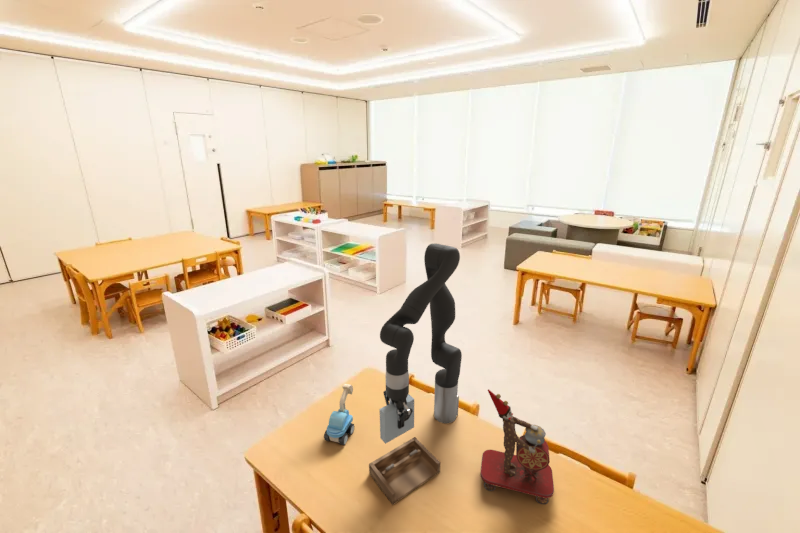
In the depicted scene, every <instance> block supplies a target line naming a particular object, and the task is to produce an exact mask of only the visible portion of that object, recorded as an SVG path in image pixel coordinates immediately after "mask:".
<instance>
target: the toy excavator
mask: <svg viewBox="0 0 800 533" xmlns="http://www.w3.org/2000/svg"><path fill="white" fill-rule="evenodd" d="M342 389H343V390H342V394H341V396H340V399H339V409H338V410H333V411H332V412H331V414H330V416H329V420H328V425H327V427H326V430H325V432H324V434H323V440H324V441H326V442H330V441H332V442H335V443H338V444H339V445H343V446H346V443H347V441H348V439H349V435H353V433H354V431H355V423H353V420H354V418H353V417H354V416H353V415H352V414H350V411H349V409H346V400H347V397H348V395H353V392H354V387H353V385H352V384H349V383H343V384H342Z"/></svg>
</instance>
